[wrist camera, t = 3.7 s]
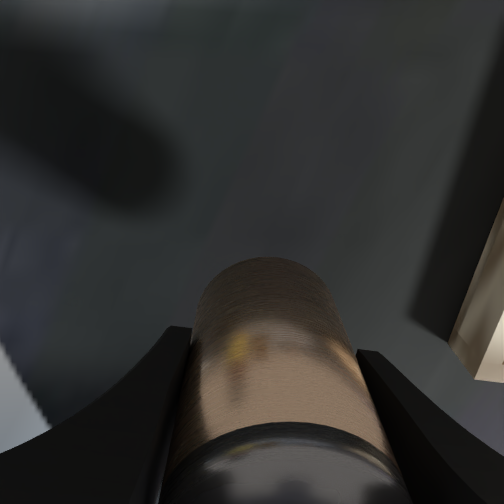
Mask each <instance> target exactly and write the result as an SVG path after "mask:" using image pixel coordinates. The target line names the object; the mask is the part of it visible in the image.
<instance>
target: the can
mask: <svg viewBox="0 0 504 504" xmlns="http://www.w3.org/2000/svg"><path fill="white" fill-rule="evenodd" d="M158 504H413V502H412V500H411V497H410V495H409V492H408V490H407V487H406V484H405V482H404V479H403V477H402V474H401V472H400V469H399V466H398V464H397V461H396V459H395V456H394V454H393V451H392V449H391V446H390V443H389V441H388V438H387V436H386V433H385V431H384V428H383V426H382V423H381V420H380V418H379V415H378V413H377V410H376V408H375V405H374V402H373V400H372V397H371V395H370V392H369V390H368V387H367V385H366V382H365V379H364V377H363V374H362V372H361V369H360V367H359V364H358V362H357V359H356V356H355V354H354V351H353V349H352V346H351V344H350V341H349V338H348V336H347V333H346V331H345V328H344V326H343V323H342V321H341V318H340V315H339V313H338V310H337V308H336V305H335V303H334V300H333V298H332V295H331V293H330V291H329V289H328V288H327V286H326V285H325V283H324V282H323V281H322V280H321V279H320V277H318V276H317V275H316V274H315V273H314V272H313V271H311V270H310V269H308V268H307V267H305V266H303V265H301V264H299V263H297V262H294V261H291V260H288V259H283V258H277V257H258V258H252V259H248V260H244V261H241V262H238V263H236V264H234V265H231V266H230V267H228V268H226V269H225V270H223V271H222V272H221V273H219V274H218V275H217V276H216V277H215V278H214V279H213V280H212V281H211V282H210V283H209V284H208V286H207V287H206V288H205V290H204V292H203V294H202V296H201V298H200V301H199V303H198V308H197V312H196V317H195V322H194V327H193V332H192V337H191V342H190V349H189V354H188V359H187V364H186V369H185V373H184V378H183V383H182V388H181V393H180V398H179V403H178V408H177V413H176V418H175V423H174V428H173V433H172V438H171V443H170V448H169V453H168V458H167V463H166V468H165V473H164V478H163V483H162V488H161V493H160V498H159V503H158Z"/></svg>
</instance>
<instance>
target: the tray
mask: <svg viewBox="0 0 504 504" xmlns="http://www.w3.org/2000/svg"><path fill="white" fill-rule="evenodd" d="M448 345H449V346H450V347H451V349H452V350H453V351H454V353H455V354H456V355H457V357H458V358H459V359H460V361H461V362H462V363H463V365H464V366H465V367H466V369H467V370H468V371H469V373H470V374H471V375H472V377H473V378H474V379H476V380H485V381H493V382H501V383H504V198H503V201H502V203H501V206H500V208H499V211H498V214H497V216H496V219H495V221H494V224H493V227H492V229H491V232H490V234H489V237H488V240H487V242H486V245H485V247H484V250H483V252H482V255H481V258H480V260H479V263H478V265H477V268H476V271H475V273H474V276H473V278H472V281H471V284H470V286H469V289H468V291H467V294H466V297H465V299H464V302H463V304H462V307H461V309H460V312H459V315H458V317H457V320H456V322H455V325H454V328H453V330H452V333H451V335H450V338H449V341H448Z"/></svg>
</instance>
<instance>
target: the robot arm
mask: <svg viewBox="0 0 504 504" xmlns="http://www.w3.org/2000/svg"><path fill="white" fill-rule="evenodd" d="M191 333H192V328H185V327H177V326H170V327H168V328H167V329H166V330H165V332H164V333H163V335H162V336H161V337H160V339H159V340H158V341H157V342H156V343H155V345H154V346H153V347H152V348H151V349H150V350H149V352H148V353H147V354H146V355H145V356H144V357H143V358H142V359H141V360H140V361H139V362H138V363H137V364H136V365H135V366H134V367H133V368H132V369H131V370H130V371H129V372H128V373H127V374H126V375H125V376H124V377H123V378H122V379H120V380H119V381H118V382H117V383H116V384H115V385H114V386H113V387H111V388H110V389H109V390H108V391H106V392H105V393H104V394H103V395H101V396H100V397H99V398H97V399H96V400H95V401H94V402H92V403H91V404H89V405H88V406H87V407H85V408H84V409H82V410H81V411H79V412H78V413H76V414H75V415H73V416H72V417H70V418H69V419H67V420H65V421H64V422H62V423H61V424H59V425H57V426H55V427H54V428H52V429H50V430H48V431H46V432H45V433H43V434H41V435H39V436H37V437H35V438H33V439H31V440H29V441H27V442H25V443H23V444H21V445H19V446H16V447H14V448H12V449H10V450H7V451H5V452H3V453H0V504H156V500H157V495H158V491H159V488H160V484H161V481H162V477H163V474H164V470H165V467H166V463H167V458H168V453H169V448H170V443H171V438H172V433H173V428H174V423H175V418H176V413H177V408H178V403H179V398H180V393H181V388H182V383H183V378H184V373H185V369H186V364H187V359H188V354H189V349H190V341H191ZM356 359H357V362H358V364H359V367H360V369H361V372H362V374H363V377H364V379H365V382H366V385H367V387H368V390H369V392H370V395H371V397H372V400H373V402H374V405H375V408H376V410H377V413H378V415H379V418H380V420H381V423H382V426H383V428H384V431H385V433H386V436H387V438H388V441H389V443H390V446H391V449H392V451H393V454H394V456H395V459H396V461H397V464H398V466H399V469H400V472H401V474H402V477H403V479H404V482H405V484H406V487H407V490H408V492H409V495H410V497H411V500H412V502H413V504H504V456H502V455H501V454H499V453H498V452H496V451H495V450H493V449H492V448H490V447H489V446H488V445H486V444H485V443H483V442H482V441H481V440H479V439H478V438H477V437H475V436H474V435H472V434H471V433H470V432H468V431H467V430H466V429H465V428H463V427H462V426H461V425H459V424H458V423H457V422H456V421H455V420H453V419H452V418H451V417H450V416H449V415H447V414H446V413H445V412H444V411H443V410H441V409H440V408H439V407H438V406H437V405H436V404H434V403H433V402H432V401H431V400H430V399H429V398H428V397H427V396H425V395H424V394H423V393H422V392H421V391H420V390H419V389H418V388H417V387H416V386H415V385H414V384H413V383H411V382H410V381H409V380H408V379H407V378H406V377H405V376H404V375H403V374H402V373H401V372H400V371H399V370H398V369H397V368H396V367H395V366H394V365H392V364H391V363H390V362H389V361H388V360H387V359H386V358H385V357H384V356H383V355H381V354H380V353H379V352H377V351H369V350H361V349H358V350H357V353H356Z"/></svg>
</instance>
